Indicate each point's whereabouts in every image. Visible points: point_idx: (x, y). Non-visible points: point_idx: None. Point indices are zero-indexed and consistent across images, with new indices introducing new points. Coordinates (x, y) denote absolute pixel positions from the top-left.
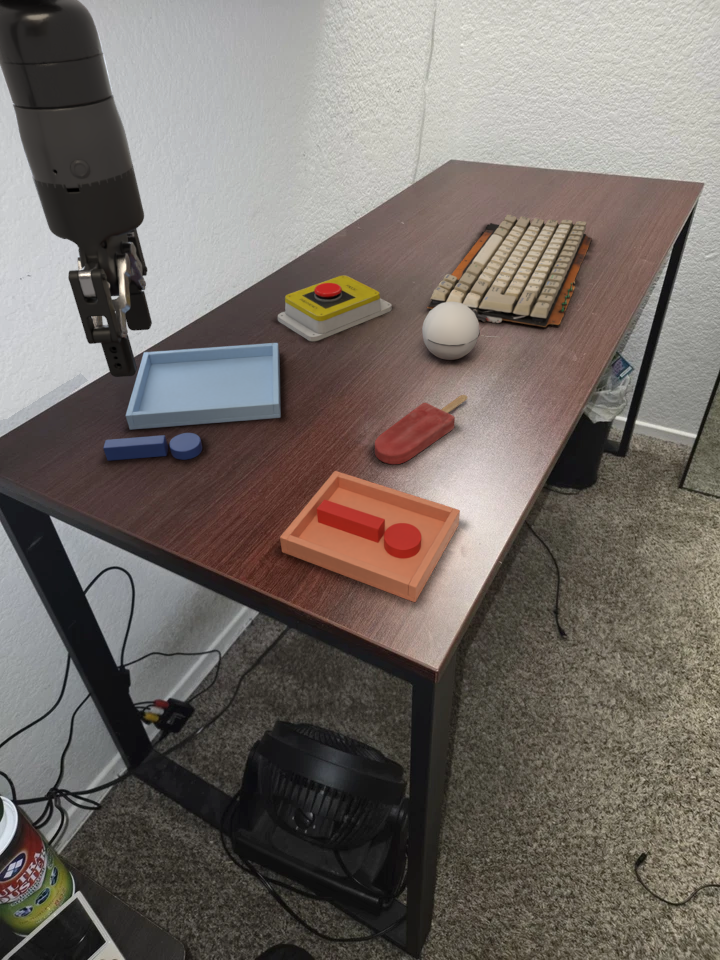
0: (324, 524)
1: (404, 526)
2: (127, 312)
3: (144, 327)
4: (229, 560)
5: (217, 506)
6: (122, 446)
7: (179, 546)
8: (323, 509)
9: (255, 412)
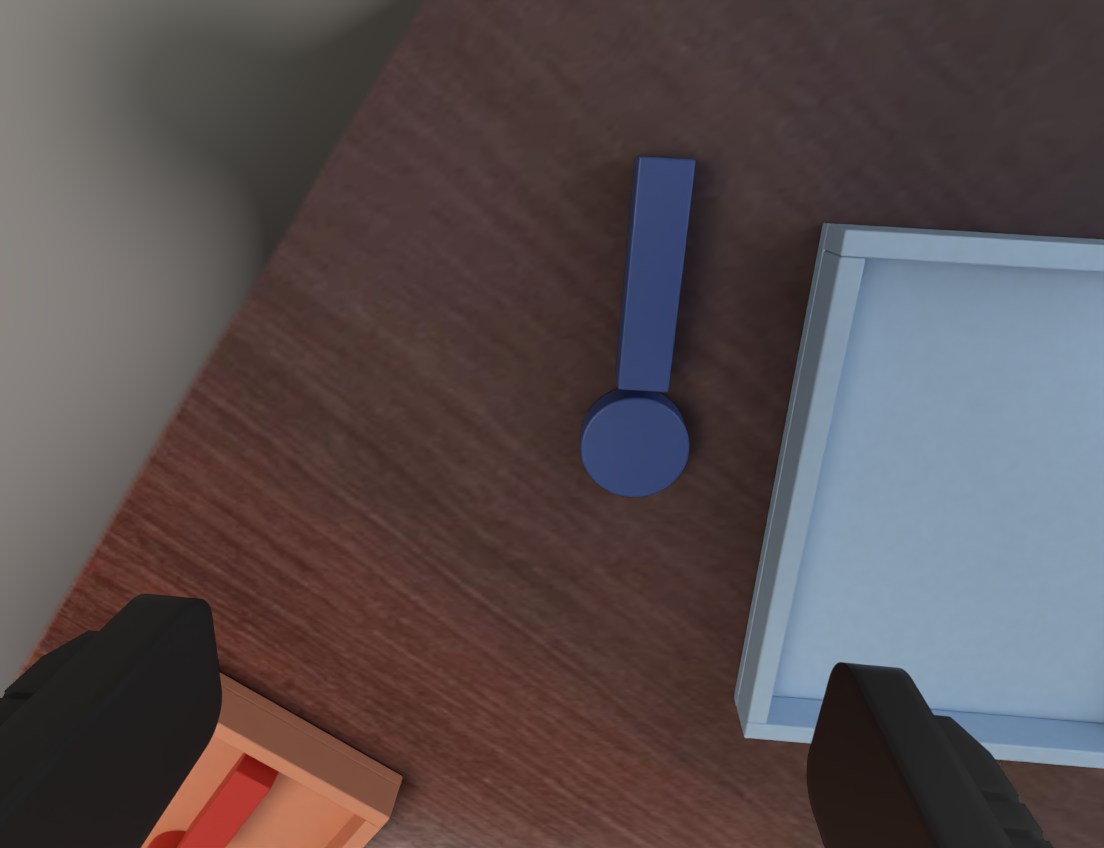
0: None
1: None
2: (892, 803)
3: (819, 757)
4: (150, 539)
5: (350, 517)
6: (632, 237)
7: (197, 422)
8: (232, 783)
9: (750, 656)
